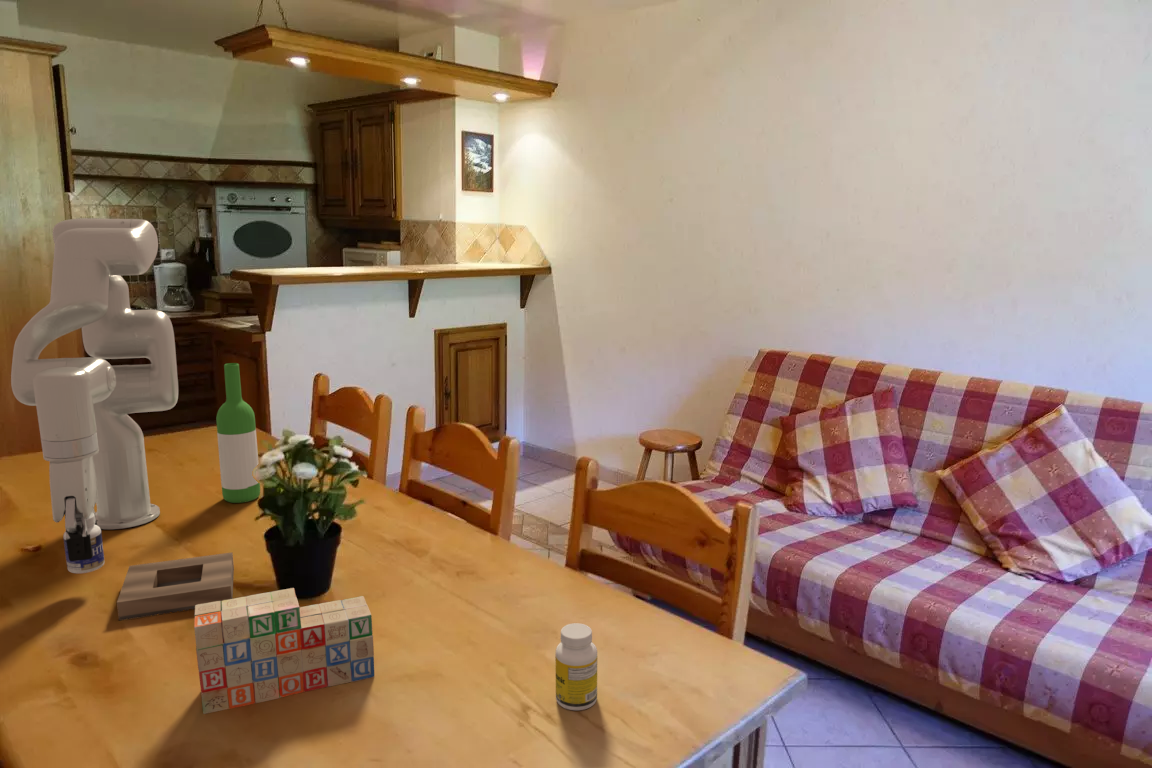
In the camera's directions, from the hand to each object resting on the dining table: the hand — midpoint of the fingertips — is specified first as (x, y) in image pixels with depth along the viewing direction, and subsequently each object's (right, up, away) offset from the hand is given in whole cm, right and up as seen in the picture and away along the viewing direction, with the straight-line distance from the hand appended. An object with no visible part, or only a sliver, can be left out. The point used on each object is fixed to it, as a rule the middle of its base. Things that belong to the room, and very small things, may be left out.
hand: (84, 550), depth 131 cm
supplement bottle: (+80, -14, -27) cm, 86 cm away
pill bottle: (0, -3, +1) cm, 3 cm away
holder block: (+15, -7, +1) cm, 17 cm away
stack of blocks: (+42, -13, -24) cm, 50 cm away
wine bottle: (+7, +2, +45) cm, 46 cm away
